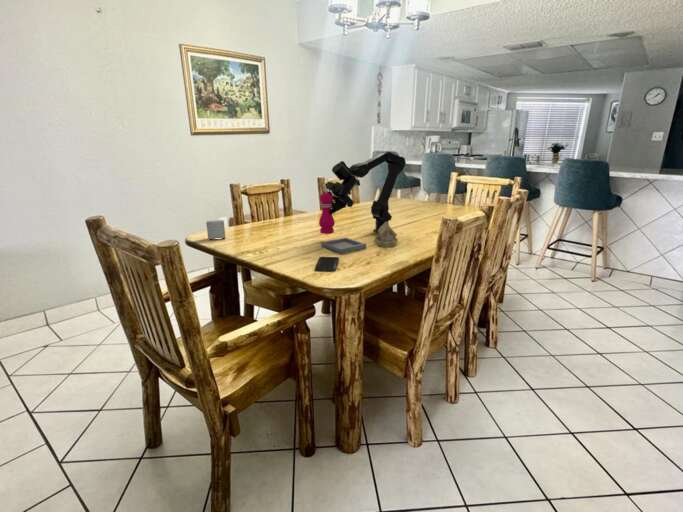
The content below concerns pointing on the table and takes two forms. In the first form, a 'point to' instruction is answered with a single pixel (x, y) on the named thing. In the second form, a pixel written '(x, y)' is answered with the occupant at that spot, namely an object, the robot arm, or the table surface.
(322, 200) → the pepper mill
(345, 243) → the grey tray
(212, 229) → the medicine box
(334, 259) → the phone
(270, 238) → the table surface
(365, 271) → the table surface
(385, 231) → the ceramic model
